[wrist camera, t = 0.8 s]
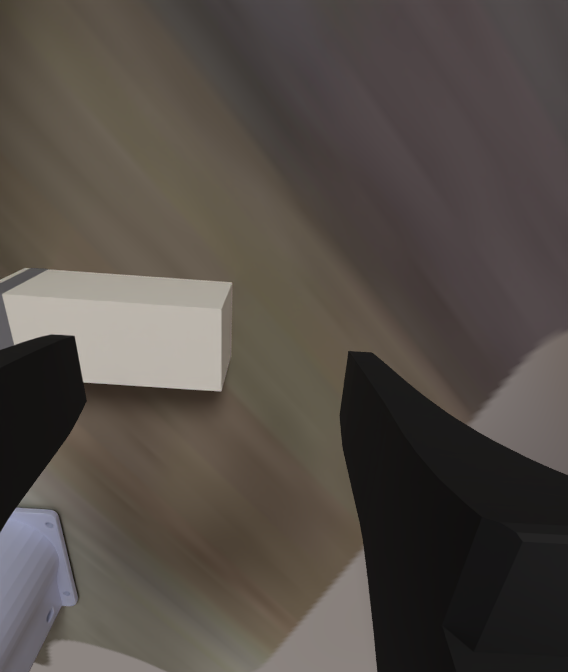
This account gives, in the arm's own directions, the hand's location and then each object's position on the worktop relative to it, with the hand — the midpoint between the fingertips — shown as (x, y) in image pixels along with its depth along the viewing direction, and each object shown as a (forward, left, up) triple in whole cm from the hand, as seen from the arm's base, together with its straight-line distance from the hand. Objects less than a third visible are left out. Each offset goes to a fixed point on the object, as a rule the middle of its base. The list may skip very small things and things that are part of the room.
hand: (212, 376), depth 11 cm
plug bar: (-3, +6, -10) cm, 12 cm away
